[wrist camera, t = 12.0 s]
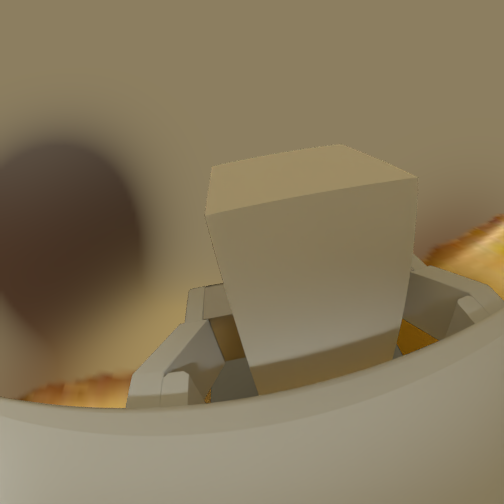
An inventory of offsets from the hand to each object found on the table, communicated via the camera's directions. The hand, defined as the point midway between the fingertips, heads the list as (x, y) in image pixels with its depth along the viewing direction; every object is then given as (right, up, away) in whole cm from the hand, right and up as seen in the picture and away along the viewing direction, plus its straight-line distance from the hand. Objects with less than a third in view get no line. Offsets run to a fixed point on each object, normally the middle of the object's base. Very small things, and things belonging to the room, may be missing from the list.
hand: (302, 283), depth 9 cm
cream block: (+1, -5, +2) cm, 5 cm away
